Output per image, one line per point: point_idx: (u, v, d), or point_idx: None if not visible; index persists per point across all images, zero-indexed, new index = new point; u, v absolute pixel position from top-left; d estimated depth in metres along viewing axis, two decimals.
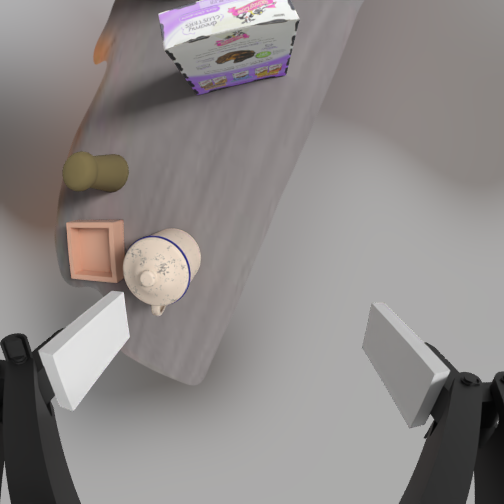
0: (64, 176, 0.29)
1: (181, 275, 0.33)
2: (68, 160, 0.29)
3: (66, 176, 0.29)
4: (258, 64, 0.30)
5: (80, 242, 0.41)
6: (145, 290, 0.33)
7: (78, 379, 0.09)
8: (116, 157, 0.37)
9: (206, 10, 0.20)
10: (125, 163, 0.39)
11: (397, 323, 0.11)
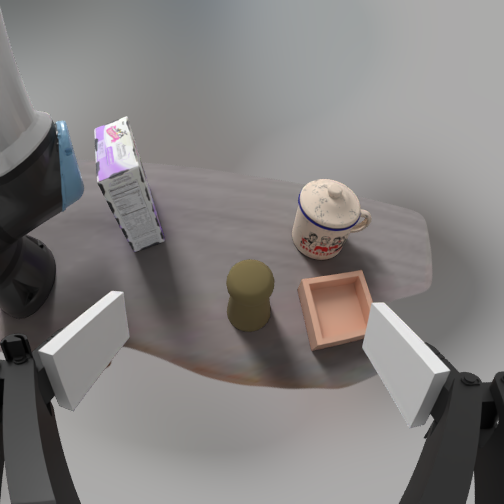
0: (258, 289, 0.29)
1: (323, 180, 0.39)
2: (237, 286, 0.29)
3: (258, 285, 0.29)
4: None
5: None
6: (347, 198, 0.37)
7: (78, 379, 0.09)
8: None
9: (109, 152, 0.32)
10: None
11: (397, 323, 0.11)
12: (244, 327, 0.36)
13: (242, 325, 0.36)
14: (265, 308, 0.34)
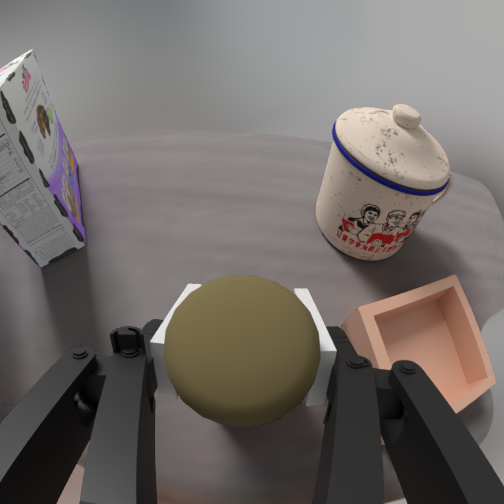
0: (273, 388, 0.07)
1: (371, 108, 0.18)
2: (195, 380, 0.07)
3: (271, 373, 0.07)
4: (59, 140, 0.21)
5: None
6: (428, 134, 0.15)
7: None
8: None
9: None
10: None
11: (308, 306, 0.13)
12: None
13: None
14: None
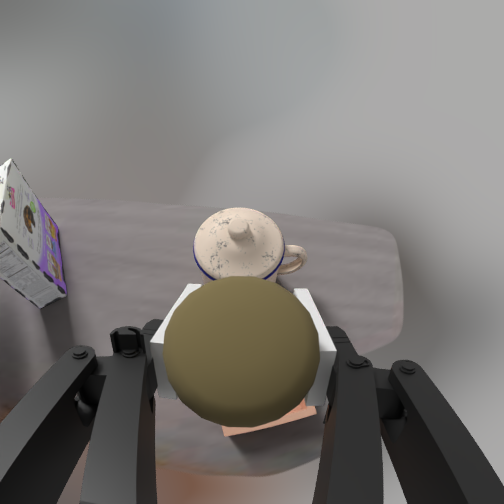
0: (272, 389, 0.07)
1: (230, 211, 0.29)
2: (195, 381, 0.07)
3: (270, 374, 0.07)
4: (42, 222, 0.32)
5: None
6: (260, 237, 0.27)
7: None
8: None
9: None
10: None
11: (307, 306, 0.13)
12: None
13: None
14: None
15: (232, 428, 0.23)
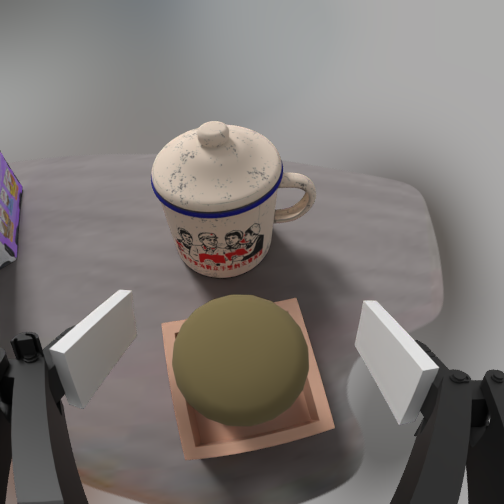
0: (266, 394, 0.08)
1: None
2: (200, 387, 0.08)
3: (264, 382, 0.08)
4: None
5: (242, 434, 0.16)
6: (245, 147, 0.17)
7: (88, 377, 0.09)
8: None
9: None
10: None
11: (388, 321, 0.11)
12: None
13: None
14: None
15: (198, 448, 0.14)
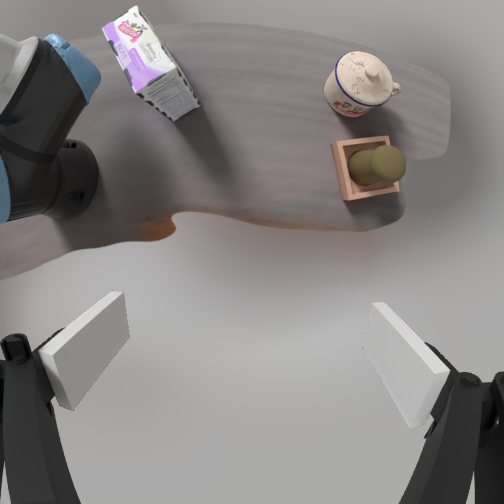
0: (398, 174, 0.32)
1: (359, 54, 0.31)
2: (384, 171, 0.32)
3: (398, 171, 0.32)
4: None
5: (363, 189, 0.43)
6: (382, 78, 0.31)
7: (78, 379, 0.09)
8: (352, 158, 0.40)
9: (134, 55, 0.25)
10: (354, 153, 0.41)
11: (397, 323, 0.11)
12: (364, 184, 0.42)
13: (363, 183, 0.41)
14: None
15: (353, 195, 0.41)
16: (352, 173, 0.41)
